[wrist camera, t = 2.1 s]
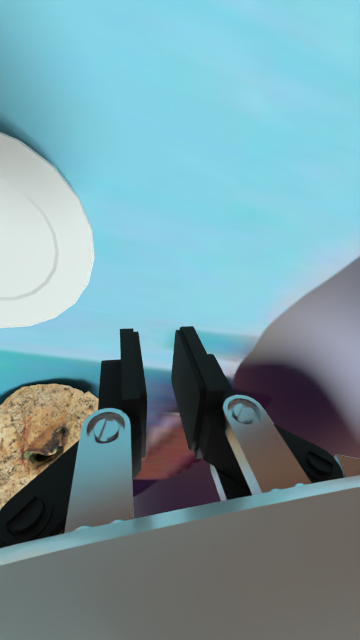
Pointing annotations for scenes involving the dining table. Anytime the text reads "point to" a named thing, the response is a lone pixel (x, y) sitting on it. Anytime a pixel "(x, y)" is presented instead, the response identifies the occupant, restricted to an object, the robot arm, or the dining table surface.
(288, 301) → the dining table surface
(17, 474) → the beige piece
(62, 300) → the lid
